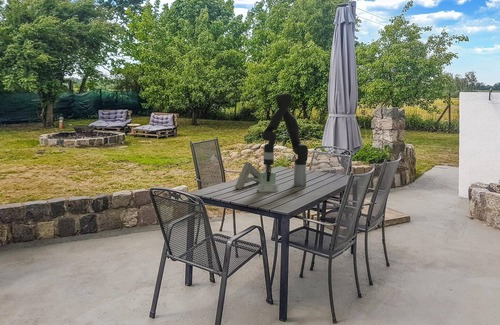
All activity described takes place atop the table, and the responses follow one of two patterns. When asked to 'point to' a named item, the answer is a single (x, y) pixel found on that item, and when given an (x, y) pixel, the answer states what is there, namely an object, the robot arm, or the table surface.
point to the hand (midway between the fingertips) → (267, 180)
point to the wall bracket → (244, 175)
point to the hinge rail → (268, 187)
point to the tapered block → (264, 178)
